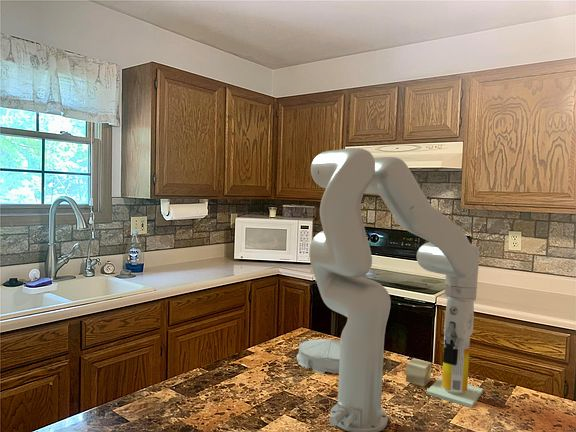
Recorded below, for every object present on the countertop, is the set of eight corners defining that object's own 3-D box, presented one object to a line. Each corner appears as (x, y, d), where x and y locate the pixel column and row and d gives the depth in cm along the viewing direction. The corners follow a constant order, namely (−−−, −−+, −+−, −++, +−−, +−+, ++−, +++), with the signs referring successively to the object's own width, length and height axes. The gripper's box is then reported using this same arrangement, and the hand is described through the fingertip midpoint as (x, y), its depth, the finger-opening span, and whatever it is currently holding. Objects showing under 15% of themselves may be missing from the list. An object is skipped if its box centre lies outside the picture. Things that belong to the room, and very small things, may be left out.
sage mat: (471, 407, 105) (471, 404, 105) (426, 393, 112) (426, 390, 112) (482, 391, 114) (483, 388, 114) (440, 379, 121) (440, 377, 121)
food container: (281, 363, 130) (282, 341, 129) (318, 344, 146) (319, 324, 145) (340, 383, 118) (341, 359, 117) (373, 360, 134) (374, 339, 133)
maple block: (424, 386, 116) (425, 368, 116) (405, 381, 119) (406, 363, 119) (430, 380, 120) (431, 362, 120) (412, 375, 123) (413, 358, 123)
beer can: (462, 385, 116) (465, 329, 115) (470, 396, 109) (473, 336, 109) (439, 384, 116) (441, 328, 115) (445, 394, 110) (448, 335, 109)
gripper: (466, 300, 102) (461, 372, 103) (484, 289, 116) (479, 353, 117) (434, 294, 107) (429, 363, 107) (454, 285, 121) (450, 346, 121)
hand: (455, 358), depth 112 cm, fingers open, 9 cm apart
